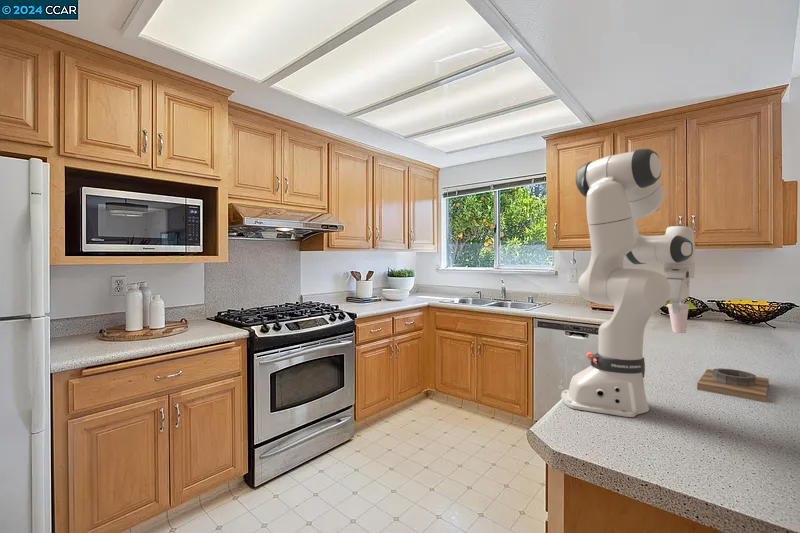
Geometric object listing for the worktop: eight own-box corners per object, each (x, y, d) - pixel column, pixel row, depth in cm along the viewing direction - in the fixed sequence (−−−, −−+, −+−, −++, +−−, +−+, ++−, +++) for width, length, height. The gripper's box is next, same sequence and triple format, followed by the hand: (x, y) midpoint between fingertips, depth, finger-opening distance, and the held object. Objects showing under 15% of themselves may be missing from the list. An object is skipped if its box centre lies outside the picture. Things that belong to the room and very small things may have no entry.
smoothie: (694, 333, 132) (693, 292, 133) (674, 333, 133) (673, 292, 133) (683, 330, 139) (681, 291, 139) (664, 330, 139) (662, 291, 140)
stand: (766, 402, 113) (766, 386, 113) (697, 389, 124) (697, 375, 124) (768, 384, 128) (768, 370, 128) (707, 374, 140) (707, 361, 140)
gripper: (673, 271, 146) (673, 308, 146) (661, 273, 131) (661, 314, 131) (694, 272, 141) (694, 310, 141) (684, 273, 127) (684, 316, 127)
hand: (678, 312), depth 136 cm, fingers closed on smoothie, 6 cm apart
